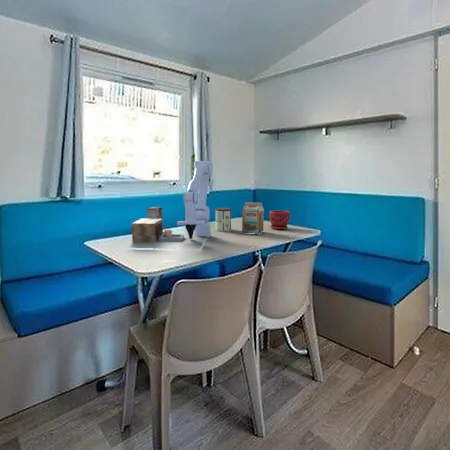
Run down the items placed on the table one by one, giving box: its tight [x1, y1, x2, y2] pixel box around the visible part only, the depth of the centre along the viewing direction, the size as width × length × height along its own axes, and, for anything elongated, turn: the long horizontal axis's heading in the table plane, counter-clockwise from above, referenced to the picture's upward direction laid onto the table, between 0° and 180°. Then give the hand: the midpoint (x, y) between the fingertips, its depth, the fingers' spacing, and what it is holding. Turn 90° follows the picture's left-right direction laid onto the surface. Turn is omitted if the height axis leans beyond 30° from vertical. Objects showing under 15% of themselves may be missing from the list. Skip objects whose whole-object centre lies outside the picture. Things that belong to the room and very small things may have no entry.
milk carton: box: [241, 201, 265, 235], centre depth 211 cm, size 11×11×19 cm
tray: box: [158, 233, 185, 242], centre depth 187 cm, size 12×9×3 cm
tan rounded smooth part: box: [163, 229, 173, 237], centre depth 186 cm, size 4×4×5 cm
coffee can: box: [215, 207, 232, 232], centre depth 221 cm, size 10×10×14 cm
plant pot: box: [269, 210, 291, 230], centre depth 227 cm, size 13×13×12 cm
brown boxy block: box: [131, 217, 164, 244], centre depth 187 cm, size 12×18×11 cm, turn 177°
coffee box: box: [146, 206, 164, 220], centre depth 205 cm, size 9×6×16 cm
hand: (190, 238), depth 186 cm, fingers closed
